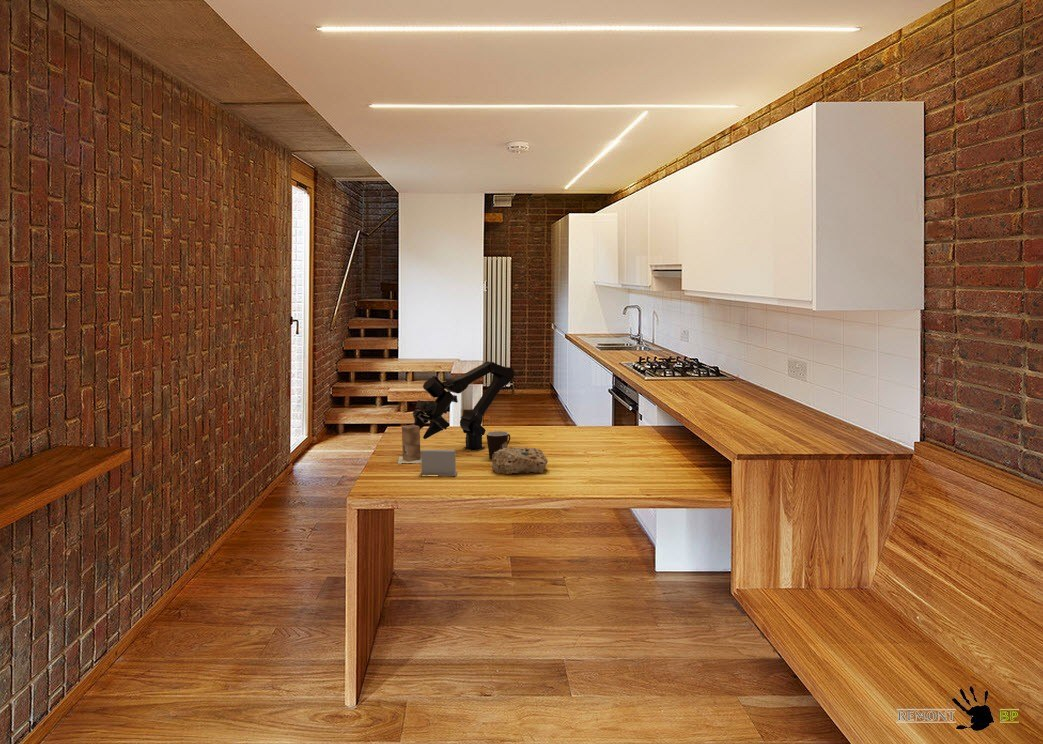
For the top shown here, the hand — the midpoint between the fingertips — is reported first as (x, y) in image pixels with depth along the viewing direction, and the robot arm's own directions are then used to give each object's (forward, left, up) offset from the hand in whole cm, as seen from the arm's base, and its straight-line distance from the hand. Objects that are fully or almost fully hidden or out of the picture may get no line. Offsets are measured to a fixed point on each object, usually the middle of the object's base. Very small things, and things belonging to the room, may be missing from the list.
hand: (417, 436), depth 293 cm
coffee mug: (-23, -22, -9) cm, 34 cm away
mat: (+1, +3, -9) cm, 9 cm away
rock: (-41, -13, -9) cm, 44 cm away
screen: (-23, +10, -9) cm, 27 cm away
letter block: (+1, +3, -9) cm, 9 cm away
